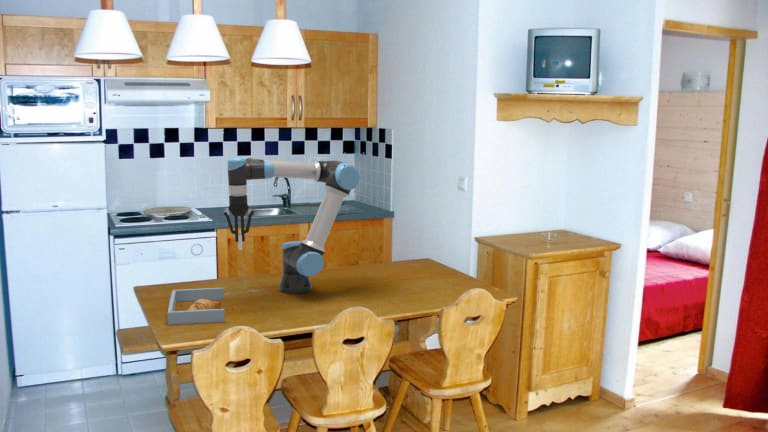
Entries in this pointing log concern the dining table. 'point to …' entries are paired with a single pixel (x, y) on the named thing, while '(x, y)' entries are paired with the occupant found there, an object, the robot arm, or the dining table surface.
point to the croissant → (204, 305)
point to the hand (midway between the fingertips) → (240, 249)
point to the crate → (195, 315)
